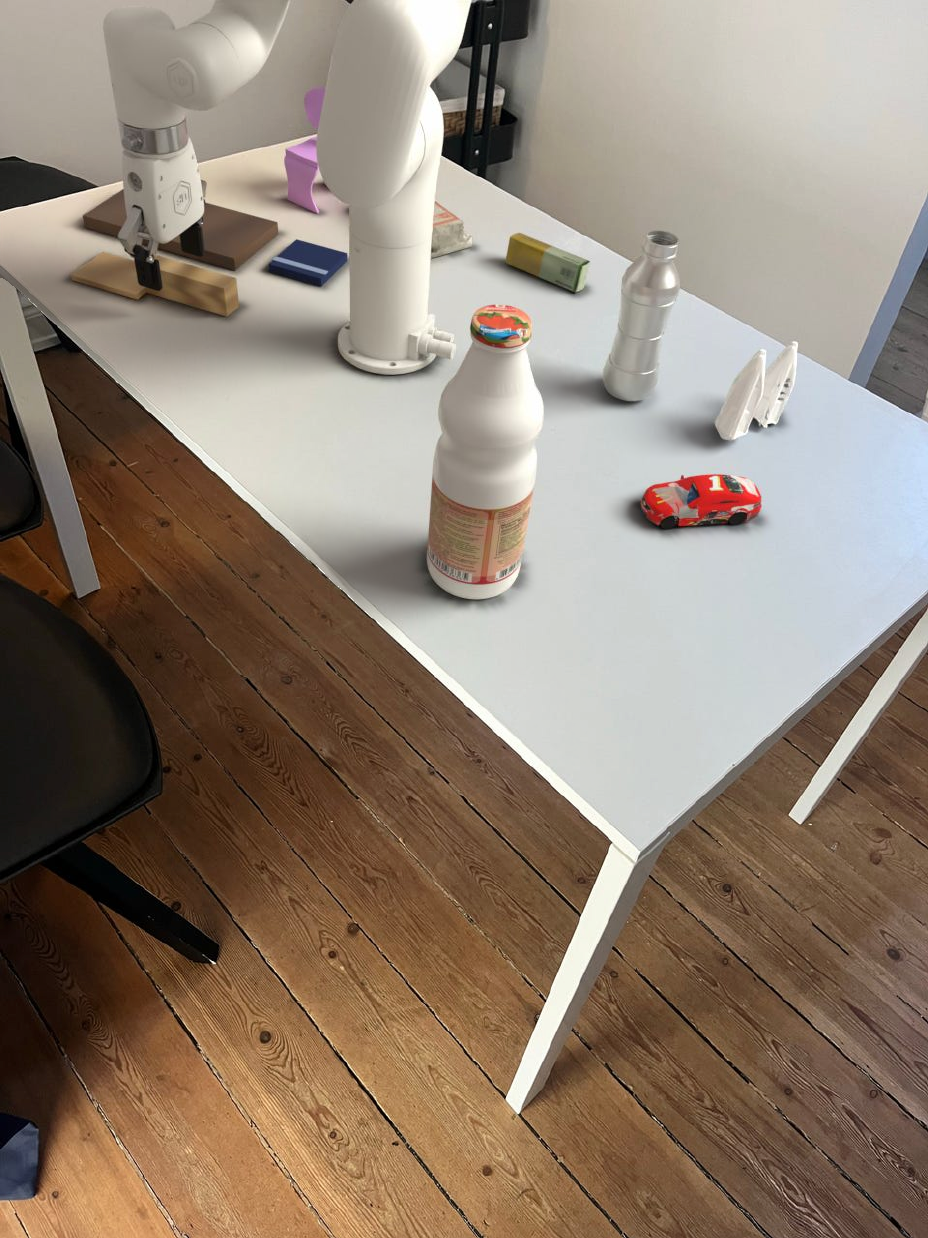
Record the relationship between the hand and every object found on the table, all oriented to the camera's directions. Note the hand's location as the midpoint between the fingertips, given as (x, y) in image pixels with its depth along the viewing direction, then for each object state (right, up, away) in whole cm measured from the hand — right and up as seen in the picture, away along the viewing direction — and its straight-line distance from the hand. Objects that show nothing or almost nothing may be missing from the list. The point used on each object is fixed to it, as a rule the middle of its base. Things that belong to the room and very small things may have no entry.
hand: (172, 269), depth 126 cm
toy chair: (+15, +19, +24) cm, 34 cm away
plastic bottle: (+57, -17, -4) cm, 60 cm away
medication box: (+49, +4, +13) cm, 51 cm away
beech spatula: (-3, -1, +3) cm, 4 cm away
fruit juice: (+38, -40, -27) cm, 61 cm away
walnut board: (-3, +11, +14) cm, 18 cm away
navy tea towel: (+16, +4, +10) cm, 19 cm away
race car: (+63, -33, -18) cm, 73 cm away
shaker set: (+71, -22, -7) cm, 75 cm away
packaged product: (+30, +13, +20) cm, 38 cm away
